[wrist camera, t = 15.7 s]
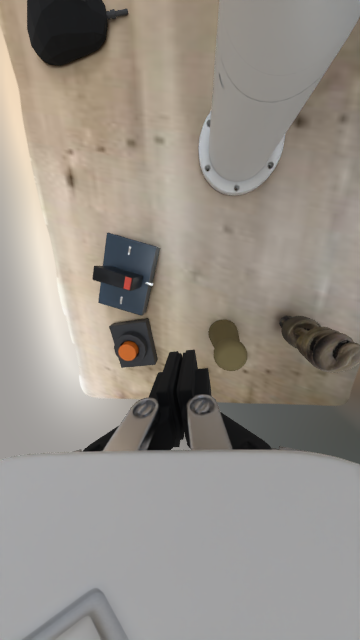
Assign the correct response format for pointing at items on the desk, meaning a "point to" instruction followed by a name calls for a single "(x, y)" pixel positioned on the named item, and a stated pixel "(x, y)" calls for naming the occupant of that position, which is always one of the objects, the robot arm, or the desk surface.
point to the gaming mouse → (67, 28)
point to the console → (133, 260)
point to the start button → (128, 350)
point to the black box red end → (117, 277)
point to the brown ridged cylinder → (320, 344)
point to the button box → (135, 341)
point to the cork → (227, 345)
